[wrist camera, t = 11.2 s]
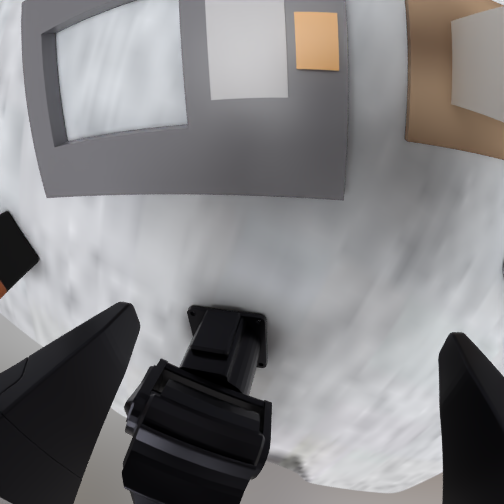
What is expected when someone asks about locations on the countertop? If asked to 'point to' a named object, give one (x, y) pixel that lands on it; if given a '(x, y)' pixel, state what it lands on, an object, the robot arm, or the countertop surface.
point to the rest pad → (443, 81)
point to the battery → (13, 254)
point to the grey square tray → (209, 105)
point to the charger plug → (479, 63)
